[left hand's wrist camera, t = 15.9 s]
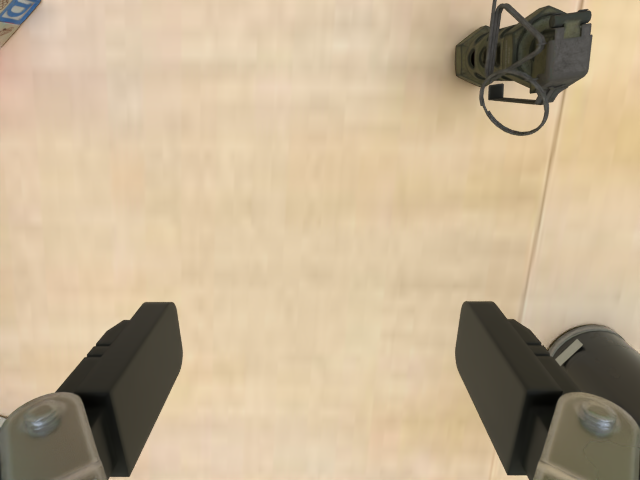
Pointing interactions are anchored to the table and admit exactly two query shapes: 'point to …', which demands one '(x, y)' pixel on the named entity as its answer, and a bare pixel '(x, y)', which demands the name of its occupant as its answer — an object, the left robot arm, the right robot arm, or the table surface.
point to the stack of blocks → (13, 16)
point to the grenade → (527, 55)
